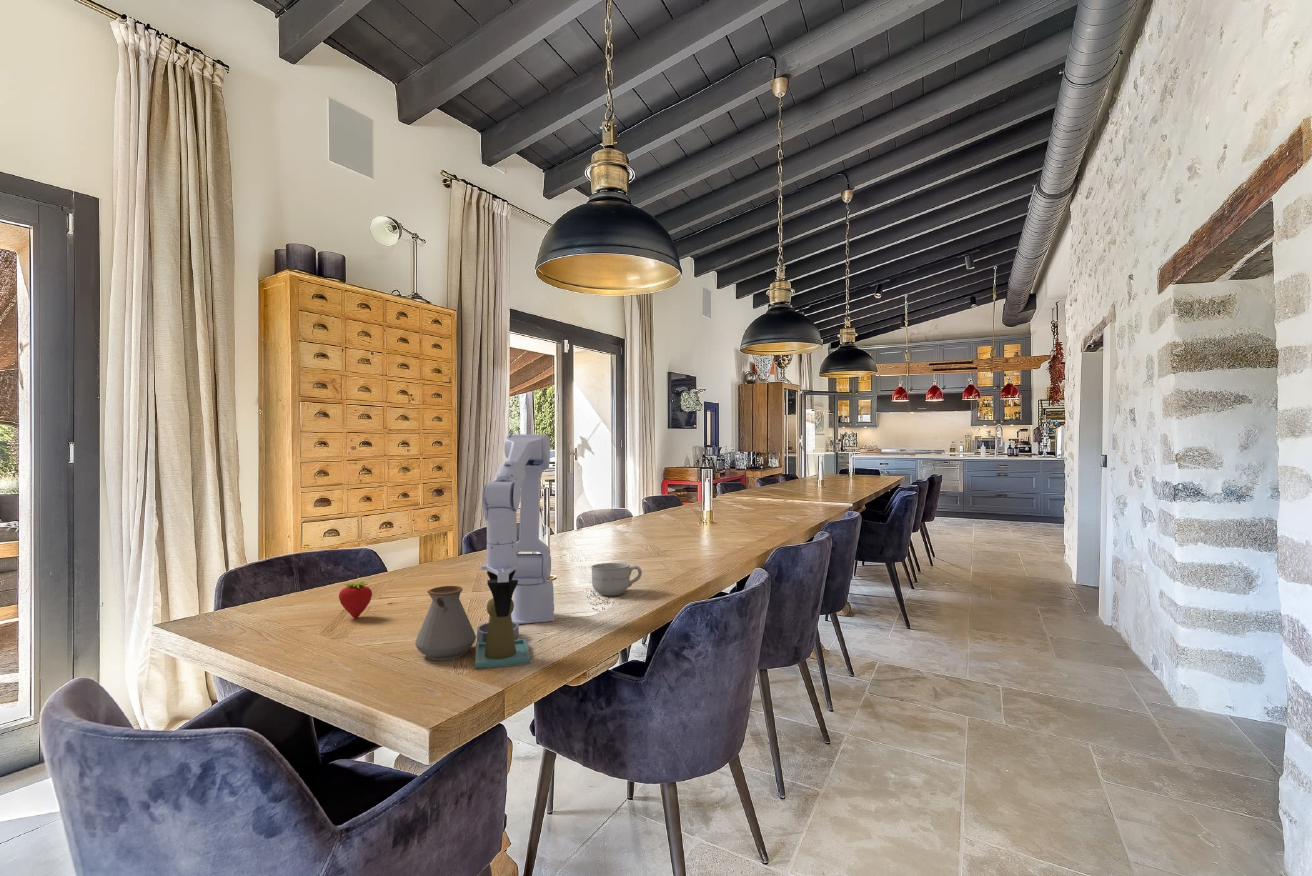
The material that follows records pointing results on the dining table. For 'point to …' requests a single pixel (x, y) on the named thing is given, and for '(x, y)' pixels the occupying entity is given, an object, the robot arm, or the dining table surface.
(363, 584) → the strawberry
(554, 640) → the dining table surface
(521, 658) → the tray
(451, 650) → the coffee pot
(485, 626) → the ring
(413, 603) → the dining table surface
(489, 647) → the cork
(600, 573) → the teacup
